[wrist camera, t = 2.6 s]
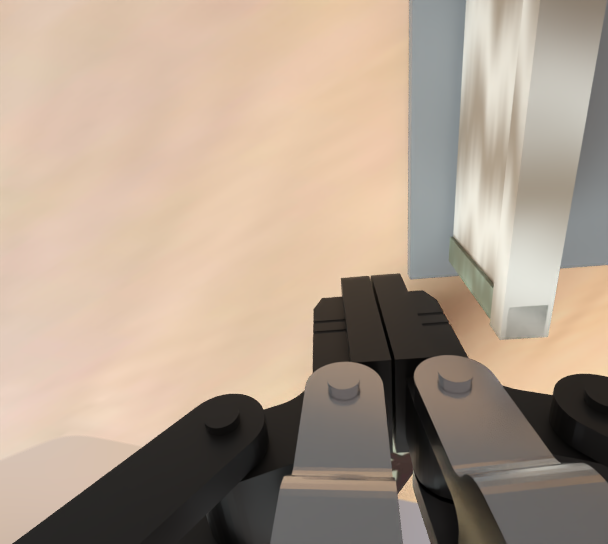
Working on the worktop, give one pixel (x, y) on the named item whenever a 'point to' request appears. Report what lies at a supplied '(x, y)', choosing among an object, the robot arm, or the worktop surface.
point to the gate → (520, 151)
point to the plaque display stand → (445, 134)
